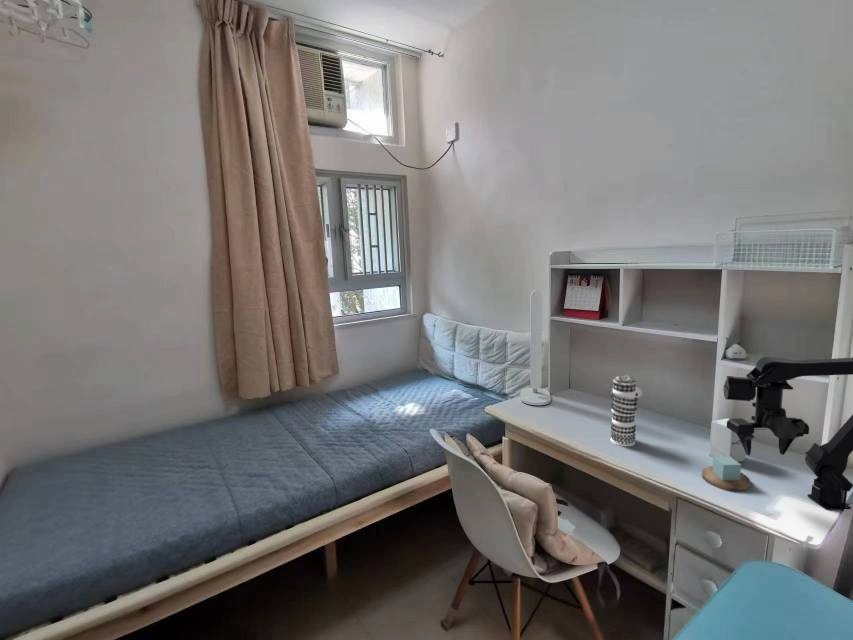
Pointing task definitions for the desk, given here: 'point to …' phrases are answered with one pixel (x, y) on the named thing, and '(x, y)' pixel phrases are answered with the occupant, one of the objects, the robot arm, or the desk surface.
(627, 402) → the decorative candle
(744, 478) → the walnut base
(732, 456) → the supplement box
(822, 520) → the desk surface
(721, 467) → the teal block
